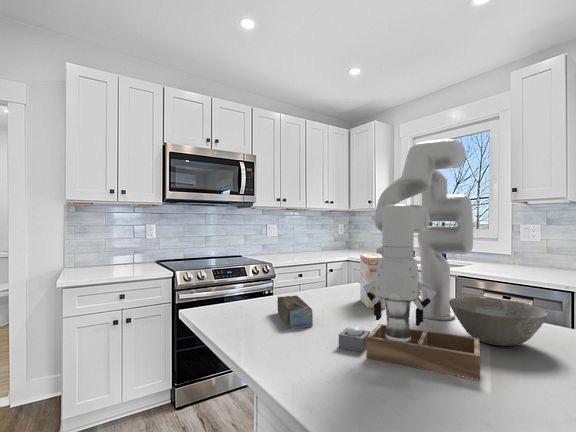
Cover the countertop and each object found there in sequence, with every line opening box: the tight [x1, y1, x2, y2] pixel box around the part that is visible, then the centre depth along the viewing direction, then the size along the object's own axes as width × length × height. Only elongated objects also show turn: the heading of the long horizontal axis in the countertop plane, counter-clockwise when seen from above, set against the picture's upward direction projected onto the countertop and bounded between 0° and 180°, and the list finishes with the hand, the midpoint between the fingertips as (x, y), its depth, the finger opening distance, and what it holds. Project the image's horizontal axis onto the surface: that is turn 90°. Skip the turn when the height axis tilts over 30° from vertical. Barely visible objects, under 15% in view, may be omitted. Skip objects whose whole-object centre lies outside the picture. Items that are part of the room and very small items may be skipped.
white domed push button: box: [346, 325, 363, 337], centre depth 90 cm, size 4×4×2 cm
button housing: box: [338, 327, 371, 353], centre depth 90 cm, size 7×7×4 cm
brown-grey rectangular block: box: [277, 295, 314, 329], centre depth 114 cm, size 8×19×7 cm, turn 13°
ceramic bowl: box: [449, 296, 548, 347], centre depth 93 cm, size 22×23×10 cm
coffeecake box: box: [359, 253, 386, 310], centre depth 136 cm, size 15×7×20 cm, turn 179°
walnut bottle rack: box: [366, 323, 481, 381], centre depth 82 cm, size 12×24×5 cm, turn 61°
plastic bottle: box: [385, 293, 412, 343], centre depth 84 cm, size 6×7×20 cm
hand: (397, 321), depth 84 cm, fingers open, 9 cm apart
